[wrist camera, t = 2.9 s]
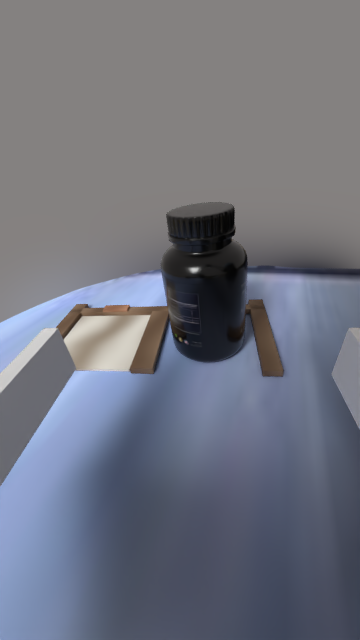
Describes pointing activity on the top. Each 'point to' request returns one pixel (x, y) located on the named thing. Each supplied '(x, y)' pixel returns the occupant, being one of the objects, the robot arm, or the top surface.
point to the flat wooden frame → (143, 337)
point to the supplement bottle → (205, 281)
